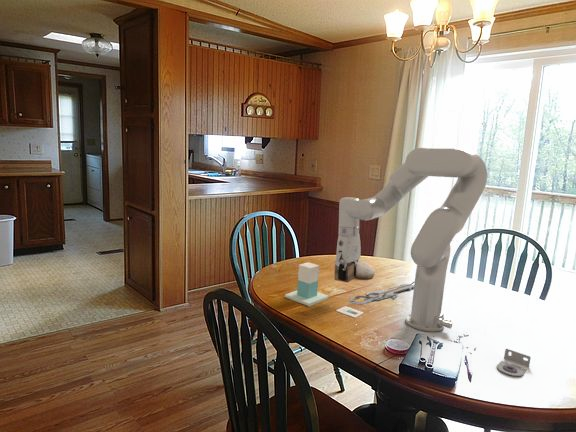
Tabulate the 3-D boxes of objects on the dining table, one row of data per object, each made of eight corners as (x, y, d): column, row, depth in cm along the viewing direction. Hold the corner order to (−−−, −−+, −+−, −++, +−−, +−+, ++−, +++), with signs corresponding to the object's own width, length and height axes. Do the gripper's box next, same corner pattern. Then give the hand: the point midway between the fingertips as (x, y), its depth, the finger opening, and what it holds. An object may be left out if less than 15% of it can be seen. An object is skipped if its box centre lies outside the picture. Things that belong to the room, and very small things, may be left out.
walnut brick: (353, 278, 161) (354, 263, 160) (347, 282, 156) (348, 266, 156) (340, 276, 164) (341, 261, 163) (334, 280, 159) (334, 264, 158)
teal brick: (317, 295, 163) (318, 280, 162) (308, 299, 159) (309, 283, 158) (305, 291, 167) (306, 276, 165) (296, 294, 162) (297, 279, 161)
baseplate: (328, 298, 164) (328, 295, 163) (309, 306, 155) (309, 303, 154) (304, 289, 171) (304, 287, 171) (284, 297, 162) (284, 294, 162)
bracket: (493, 371, 117) (495, 359, 116) (504, 359, 124) (505, 348, 124) (519, 381, 113) (521, 369, 112) (528, 367, 120) (530, 356, 120)
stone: (366, 289, 190) (378, 276, 188) (349, 276, 189) (361, 263, 187) (363, 277, 202) (375, 265, 200) (347, 265, 201) (358, 252, 199)
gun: (343, 302, 163) (363, 311, 156) (344, 297, 163) (363, 305, 155) (407, 284, 187) (427, 290, 179) (408, 279, 186) (427, 285, 179)
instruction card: (364, 313, 151) (364, 312, 151) (354, 317, 147) (355, 317, 147) (345, 306, 156) (345, 305, 156) (335, 310, 152) (336, 310, 152)
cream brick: (318, 280, 162) (319, 265, 161) (309, 283, 158) (310, 268, 157) (307, 276, 165) (308, 262, 164) (297, 279, 161) (298, 264, 160)
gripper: (344, 235, 148) (342, 285, 151) (369, 229, 161) (367, 275, 163) (326, 232, 153) (325, 281, 155) (352, 226, 166) (351, 271, 168)
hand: (347, 277), depth 159 cm, fingers closed on walnut brick, 5 cm apart
